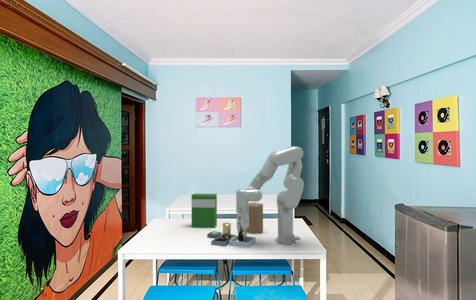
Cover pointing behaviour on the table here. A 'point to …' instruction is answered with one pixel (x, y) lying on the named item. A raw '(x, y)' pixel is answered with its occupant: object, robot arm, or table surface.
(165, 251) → the table surface
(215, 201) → the hardback book
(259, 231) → the wooden block
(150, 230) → the table surface
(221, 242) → the metal compartment tray
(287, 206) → the robot arm
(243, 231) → the billet
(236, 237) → the tray
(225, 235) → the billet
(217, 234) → the grey button housing
